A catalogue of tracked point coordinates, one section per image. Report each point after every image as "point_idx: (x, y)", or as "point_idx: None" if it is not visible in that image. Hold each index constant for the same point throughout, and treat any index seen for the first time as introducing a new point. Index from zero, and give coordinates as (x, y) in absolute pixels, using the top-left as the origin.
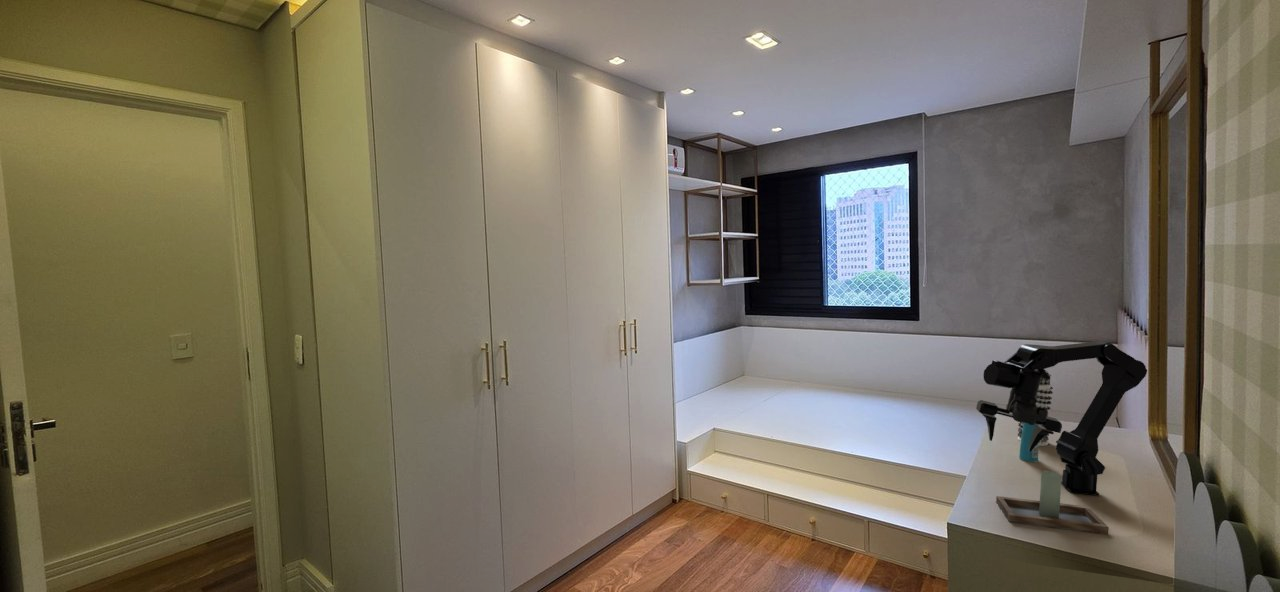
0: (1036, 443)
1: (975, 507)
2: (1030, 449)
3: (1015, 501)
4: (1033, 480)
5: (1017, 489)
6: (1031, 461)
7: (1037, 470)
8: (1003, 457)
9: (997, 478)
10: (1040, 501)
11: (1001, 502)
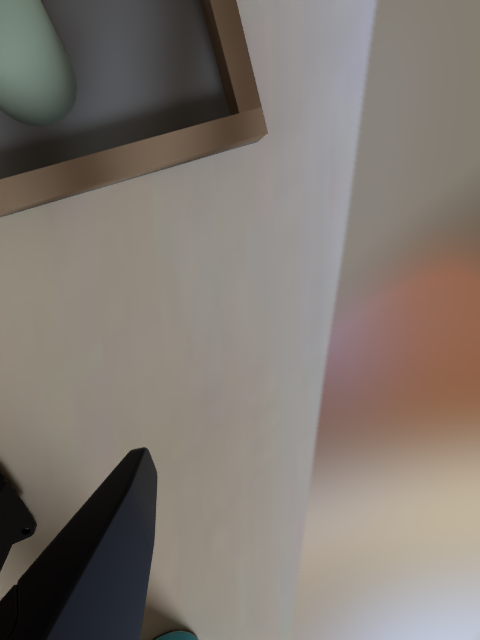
0: (55, 546)
1: (332, 26)
2: (134, 460)
3: (185, 130)
4: None
5: (186, 349)
6: (159, 638)
7: None
8: (245, 607)
9: (258, 411)
10: (48, 17)
11: (245, 49)
